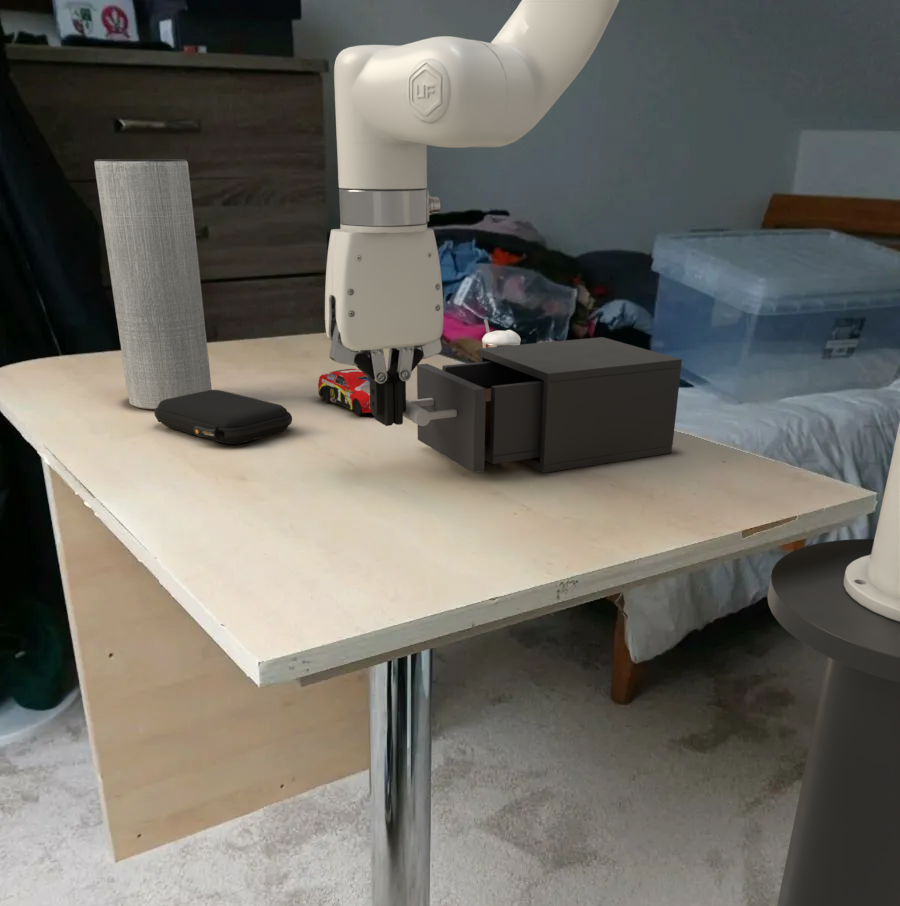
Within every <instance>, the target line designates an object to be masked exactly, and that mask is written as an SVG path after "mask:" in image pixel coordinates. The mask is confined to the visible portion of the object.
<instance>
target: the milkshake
mask: <svg viewBox="0 0 900 906" xmlns="http://www.w3.org/2000/svg"><path fill="white" fill-rule="evenodd" d="M483 321H484V322H483V323H484V327H485V332H486V333H485V334H484V335H483V337H482V338H481V345H482V347H481V348H490V347H501V346H512V345H521V341H522V339H521V337H520V335H519V334H518V333H517V332H515V331H513V330H512V329H506V330H494V331H491V330H490V327H489V322H488V319H487V318H486V319H483Z"/></svg>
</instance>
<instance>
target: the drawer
mask: <svg viewBox="0 0 900 906" xmlns="http://www.w3.org/2000/svg"><path fill="white" fill-rule="evenodd" d="M543 386H544V380H541V379H539V378H536V377H533V376H531V375H528V374H525V373H523V372H520V371H517V370H515V369H512V368H509V367H507V366H504V365H501V364H499V363H496V362H493V361H485V362H479V361H475V362H466V363H455V364H445V365H442V367H441V368H438V367H436V366H433V365H432V364H429V363H418V365H417V366H416V388H417V389H416V396H417V397H416V399H409V400H407V399H406V411H405V412H404V413H403V418H406V419H407V420H409V421H411V422H413V423H414V424H416V425H417V440H418V441H419V442H421V443H422V444H424V445H426V446H427V447H429V448H431V449H432V450H434V451H436V452H438V453H439V454H440V455H442V456H444V457H446V458H448V459H449V460H451V461H453V463H456V464H458V465H460V466H461V467H462V468H464V469H466V470H468V471H469V472H471V473H473V474H475V473H480V472H485V461H486V462H488V463H491V464H492V465H497V464H503V463H511V462H515V461H516V462H517V461H520V460H524V459H531V458H537V457H540V448H541V427H542V407H543ZM486 389H491V410H490V446H485V410H486Z"/></svg>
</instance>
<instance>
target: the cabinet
mask: <svg viewBox="0 0 900 906" xmlns="http://www.w3.org/2000/svg"><path fill="white" fill-rule="evenodd" d="M485 361H493V362H496V363H499V364H501V365H504V366H507V367H509V368H512V369H515V370H517V371H520V372H523V373H525V374H528V375H531V376H533V377H536V378H539V379H541V380H544V386H543V407H542V427H541V448H540V457H537V458H531V459H524V460H519V462H522V463H523V464H525V465H528V466H529V467H531V468H533V469H535V470H537V471H539V472H540V473H542V474H547V473H553V472H560V471H566V470H573V469H579V468H585V467H591V466H598V465H603V464H610V463H616V462H624V461H628V460H636V459H643V458H648V457H654V456H661V455H666V454H672V453H673V445H674V435H675V428H676V417H677V408H678V400H679V392H680V382H681V372H682V365H683V364H682V363H683V359H682V358H678V357H675V356H671V355H668V354H664V353H661V352H658V351H653V350H649V349H646V348H643V347H639V346H635V345H633V344H628V343H624V342H622V341H617V340H614V339H611V338H607V337H603V336H599V337H590V338H578V339H577V338H576V339H567V340H566V339H565V340H556V341H546V342H534V343H524V344H523V343H522V344H520V345H512V346H501V347H490V348H483V347H480V348H478V362H485Z"/></svg>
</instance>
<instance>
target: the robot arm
mask: <svg viewBox="0 0 900 906" xmlns="http://www.w3.org/2000/svg"><path fill="white" fill-rule="evenodd" d="M619 2H620V0H520V2H519V3H518V6H517V7H516V9H515V10H514V11H513V13H512V14H511V15H510V16H509V18H508V20H507V21H506V22H505V23H504V25H503V26H502V28H501V29H500V30H499V32H498V33H497V34H496V35H495V37H494V38H493V39H492V40H491V42H486V41H481V40H479V39H469V38H468V39H467V38H464V37H458V36H449V35H446V36H445V35H442V36H433V37H428V38H424V39H420V40H417V41H413V42H409V43H406V44H402V45H393V44H363V45H362V44H361V45H354V46H349V47H346V48H344V49H342V50H341V51H340V52H338V55H337V56H336V58H335V62H334V67H333V81H334V83H333V84H334V105H335V131H336V152H337V153H336V154H337V157H336V158H337V179H338V188H339V189H338V199H339V221H340V225H339V226H340V227H339V228H333V229H331V230H330V234H329V240H328V249H327V258H326V267H325V268H326V270H325V289H324V325H325V333H326V334H325V335H326V337H327V338H328V340H330V341H331V344H330V348H329V349H330V350H329V359H331V361H333V362H335V363H337V364H342V365H347V366H355V367H356V369H360V370H361V371H362V372H363V373H364V374H365V376H366V377H367V378H369V382H370V409H371V413H370V414H372V416H374V420H375V421H377V422H378V423H380V424H382V425H384V426H385V427H390V426H393V425H396V426H398V425H399V426H400V425H403V423H404V416H403V413H404V412H405V411H406V400H407V381H409V380H410V379H411V376H412V372H413V371H414V370H415V369H416V368H417V365H418V364H420V363H421V361H422V360H426V359H428V358H432V357H433V356H436V355H438V354H440V353H441V352H442V350H443V346H442V345H443V344H442V341H441V337H442V335H443V330H444V294H443V280H442V271H441V263H440V257H439V256H440V255H439V249H438V245H437V240H436V235H435V231H434V229H433V228H429V227H428V223H429V222H430V216H431V215H432V214H439V213H440V211H441V199H440V198H439V197H438V196H432V195H430V189H427V188H428V146H431V147H437V148H438V147H439V148H455V149H456V148H462V149H463V148H464V149H466V148H502V147H505V146H508V145H510V144H512V143H515V142H517V141H518V140H520V139H521V138H523V137H524V136H525V135H527V134H528V133H529V132H530V131H531V130H532V129H533V128H535V126H537V124H538V123H539V122H540V121H541V120H542V119H544V117H545V116H546V114H547V113H548V112H549V111H550V109H551V108H552V107H553V106H554V105H555V103H556V102H557V101H558V100H559V99H560V97H561V96H562V95H563V94H564V92H566V90H567V89H568V88H569V86H570V85H571V84H572V83H573V82H574V80H575V79H576V78H577V76H578V75H579V74H580V73H581V71H582V70H583V68H584V67H585V65H586V64H587V63H588V61H589V60H590V58H591V56H592V55H593V53H594V51H595V50H596V48H597V46H598V45H599V43H600V41H601V39H602V37H603V35H604V32H605V31H606V29H607V26H608V25H609V23H610V20H611V18H612V17H613V15H614V13H615V12H616V9H617V7H618V5H619ZM386 349H388V350H389V351H388V359H387V364H386V357H385V353H384V350H386ZM386 365H387V366H386ZM873 539H874V544H873V548H872V553H871V555H868V556H864V557H861V558H859V559H857V560H855V561H853V562H851V563H850V564H849V565H848V566H847V568H846V571H845V576H844V584H843V585H844V587H845V589H846V591H847V592H848V594H849V595H850V596H851V597H852V598H853V599H854V600H855V601H857V602H858V603H859V604H861V605H862V606H864V607H866V608H867V609H869V610H871V611H873V612H875V613H877V614H879V615H882V616H884V617H886V618H889V619H892V620H895V621H898V622H900V422H899V423H898V428H897V433H896V438H895V443H894V447H893V451H892V455H891V459H890V465H889V470H888V475H887V479H886V484H885V489H884V493H883V497H882V503H881V506H880V512H879V515H878V521H877V526H876V530H875V536H874V538H873Z"/></svg>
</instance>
